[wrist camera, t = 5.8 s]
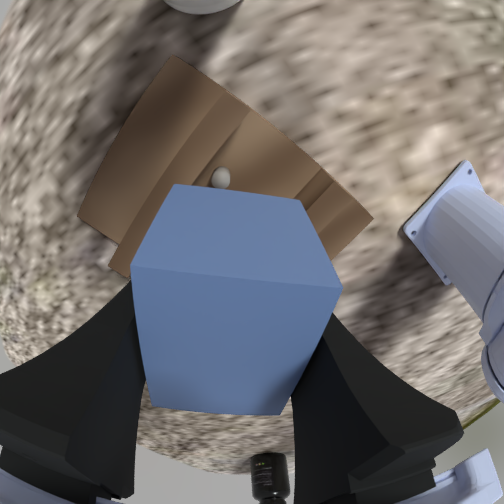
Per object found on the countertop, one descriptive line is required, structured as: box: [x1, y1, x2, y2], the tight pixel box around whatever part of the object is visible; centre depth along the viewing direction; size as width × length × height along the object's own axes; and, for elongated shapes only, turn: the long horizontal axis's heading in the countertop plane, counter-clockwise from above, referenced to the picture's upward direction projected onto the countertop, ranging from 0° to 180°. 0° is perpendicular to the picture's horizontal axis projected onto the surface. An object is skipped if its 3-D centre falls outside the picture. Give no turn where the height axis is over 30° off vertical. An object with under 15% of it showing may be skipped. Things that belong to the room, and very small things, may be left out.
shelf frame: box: [77, 55, 374, 278], centre depth 17 cm, size 16×12×4 cm
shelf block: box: [130, 184, 343, 415], centre depth 9 cm, size 6×4×5 cm
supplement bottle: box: [251, 453, 290, 504], centre depth 40 cm, size 7×7×12 cm
